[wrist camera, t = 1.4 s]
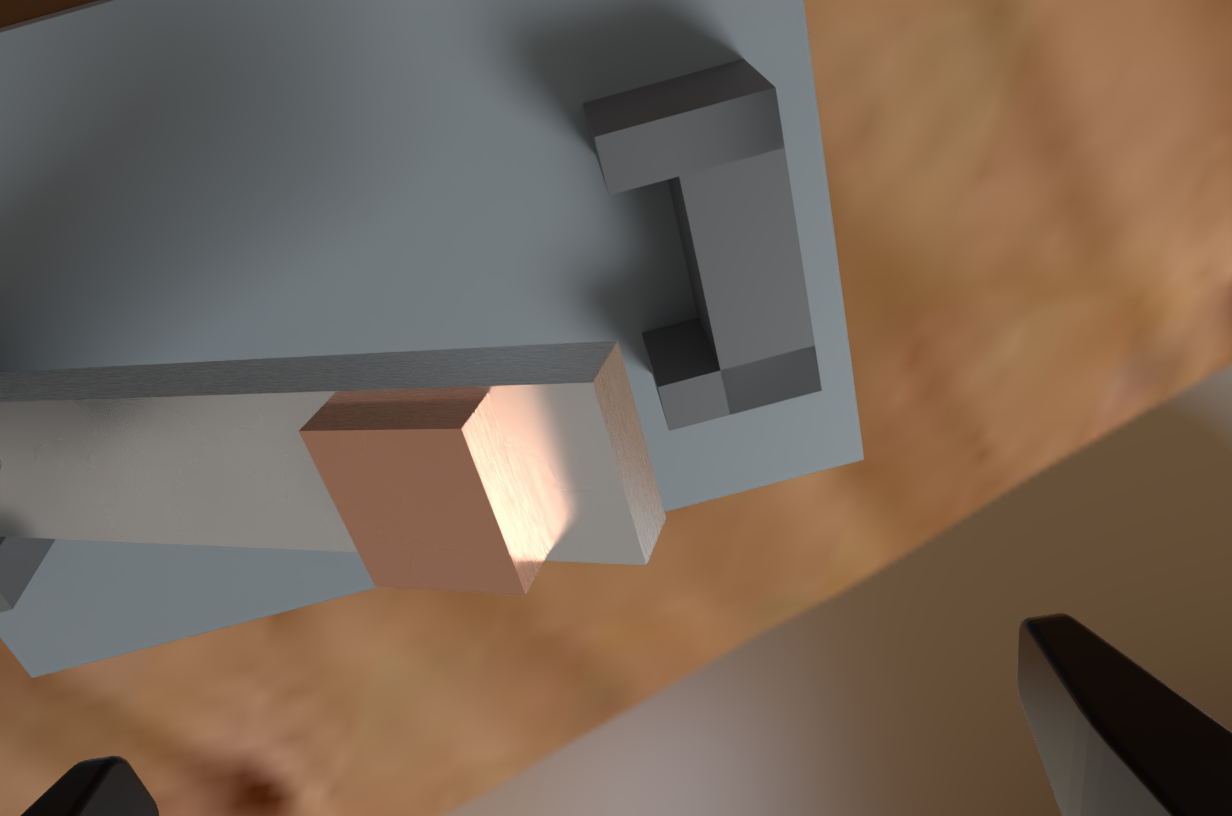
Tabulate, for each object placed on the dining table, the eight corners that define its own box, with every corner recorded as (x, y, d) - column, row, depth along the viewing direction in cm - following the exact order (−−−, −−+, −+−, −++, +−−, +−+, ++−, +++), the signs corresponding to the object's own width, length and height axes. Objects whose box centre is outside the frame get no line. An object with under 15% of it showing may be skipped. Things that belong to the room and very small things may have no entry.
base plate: (56, 633, 24) (-17, 768, 21) (-326, 119, 18) (-528, 192, 14) (843, 425, 24) (905, 528, 20) (757, -187, 17) (826, -190, 14)
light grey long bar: (-23, 491, 21) (-111, 560, 19) (-112, 370, 19) (-215, 433, 17) (671, 504, 15) (628, 606, 13) (625, 328, 13) (570, 420, 11)
